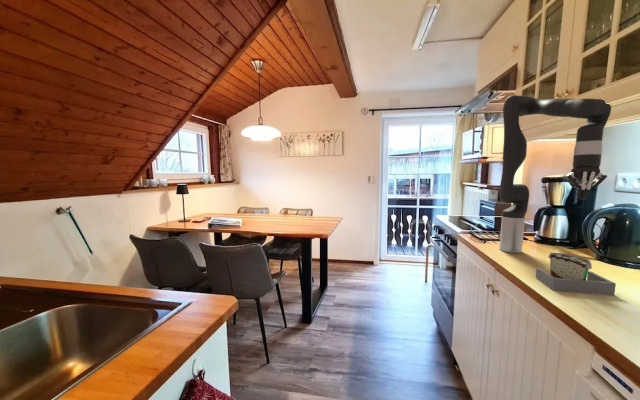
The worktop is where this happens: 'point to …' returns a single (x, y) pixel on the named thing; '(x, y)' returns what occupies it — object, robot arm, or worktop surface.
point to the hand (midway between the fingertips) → (582, 199)
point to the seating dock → (578, 283)
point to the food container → (569, 266)
